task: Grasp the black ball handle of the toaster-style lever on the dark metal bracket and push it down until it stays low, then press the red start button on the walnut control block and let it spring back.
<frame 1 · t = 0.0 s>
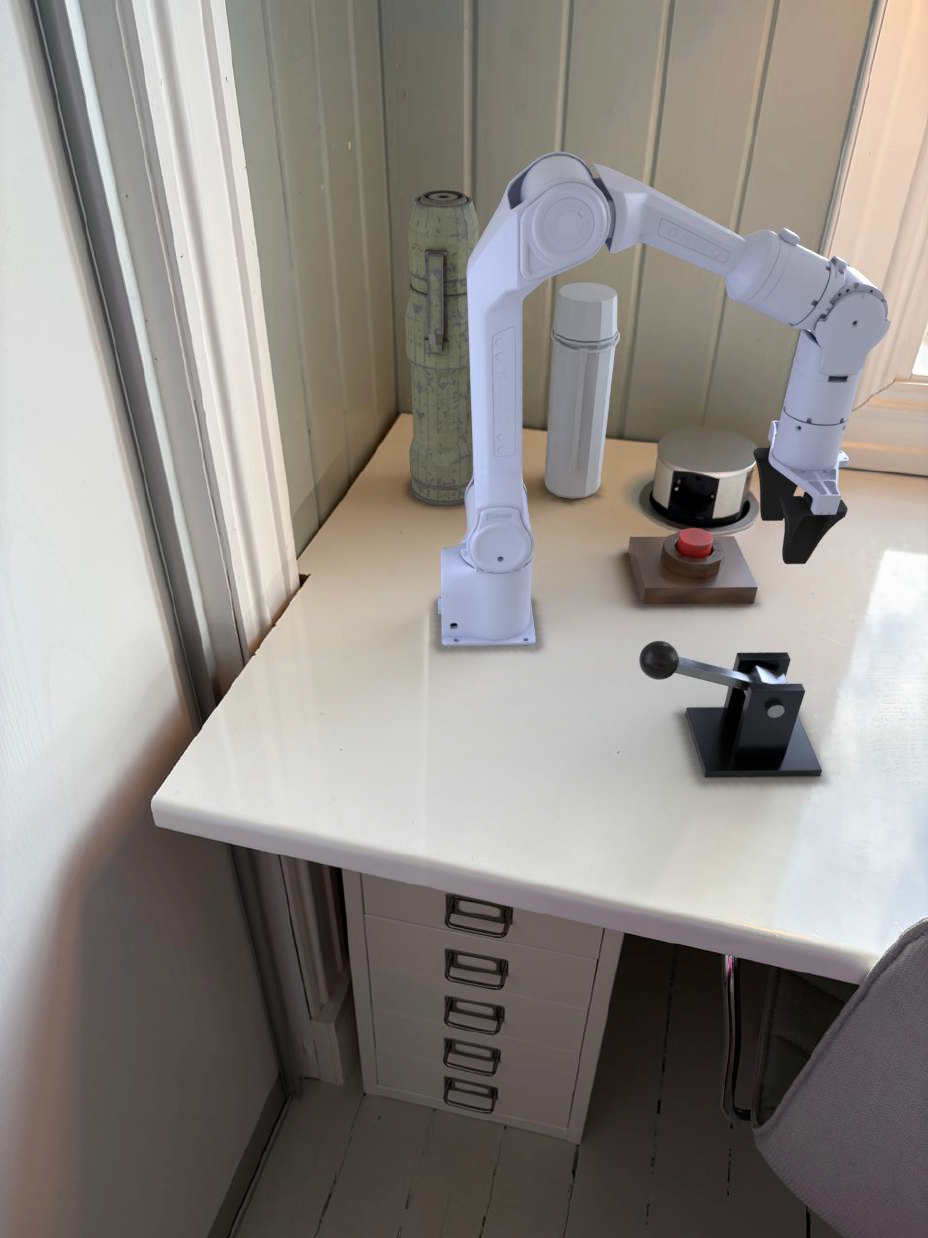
hand: (782, 539, 91), 10 cm above the table, tool pointing down, fingers open, 7 cm apart
lever: (712, 673, 77), point 9 cm above the table, hinge at 18.0°
bracket: (749, 745, 83), on the table
button: (694, 543, 100), point 4 cm above the table, slide at 0.1 cm
water bottle: (571, 492, 118), on the table
thermos: (445, 489, 119), on the table
control block: (688, 577, 103), on the table
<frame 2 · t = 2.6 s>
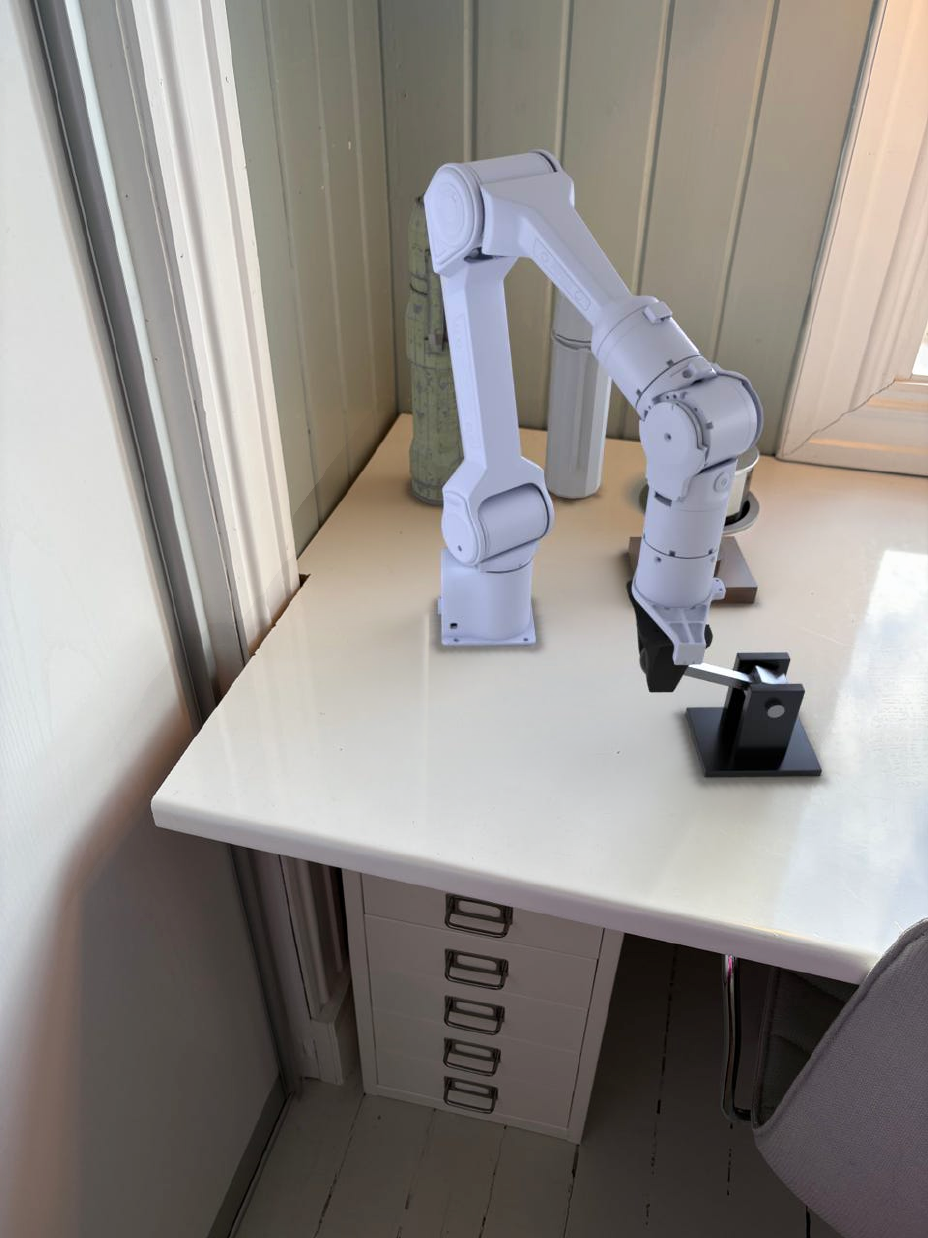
hand: (656, 674, 77), 9 cm above the table, tool pointing down, fingers closed on lever, 3 cm apart
lever: (712, 673, 77), point 9 cm above the table, hinge at 18.0°, touching gripper
everything else where it was.
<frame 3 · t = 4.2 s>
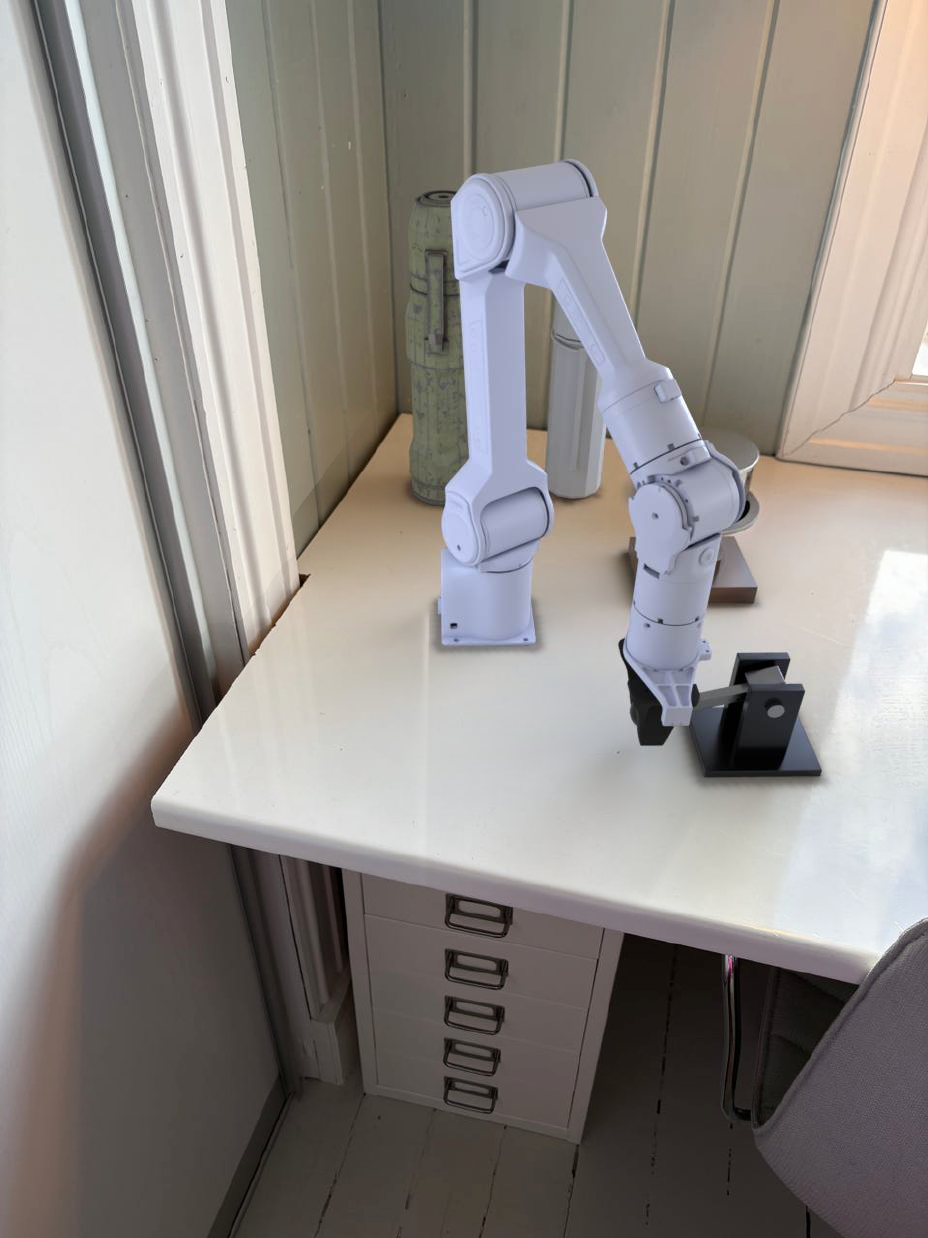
hand: (647, 728, 81), 2 cm above the table, tool pointing down, fingers closed on lever, 3 cm apart
lever: (705, 699, 79), point 6 cm above the table, hinge at -15.9°, touching gripper
everything else where it was.
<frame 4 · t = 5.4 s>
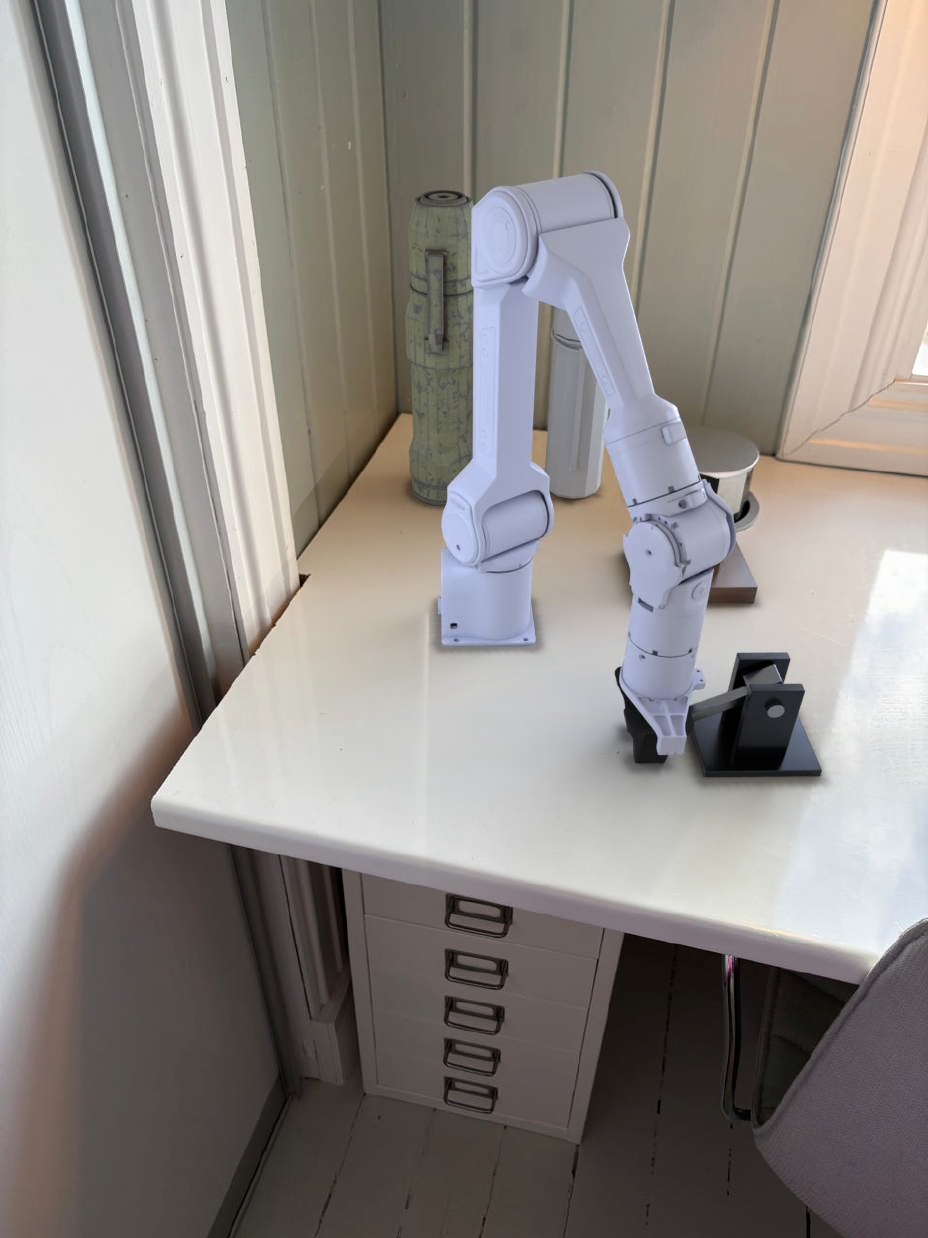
hand: (643, 754, 83), 0 cm above the table, tool pointing down, fingers closed on lever, 3 cm apart
lever: (707, 707, 80), point 5 cm above the table, hinge at -27.1°, touching gripper
everything else where it was.
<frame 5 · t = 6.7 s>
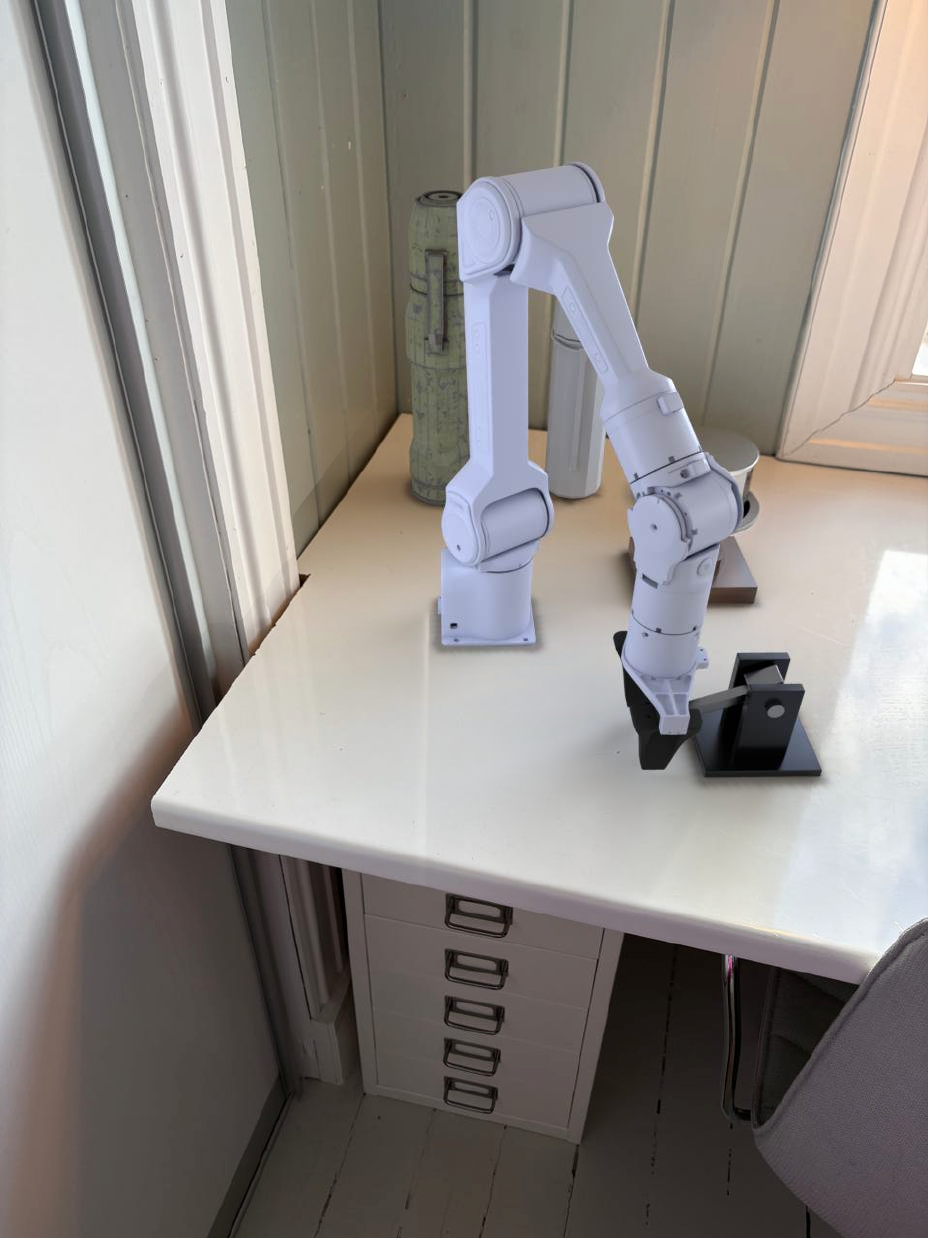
hand: (645, 734, 82), 1 cm above the table, tool pointing down, fingers open, 7 cm apart
lever: (706, 704, 80), point 5 cm above the table, hinge at -22.2°
everything else where it was.
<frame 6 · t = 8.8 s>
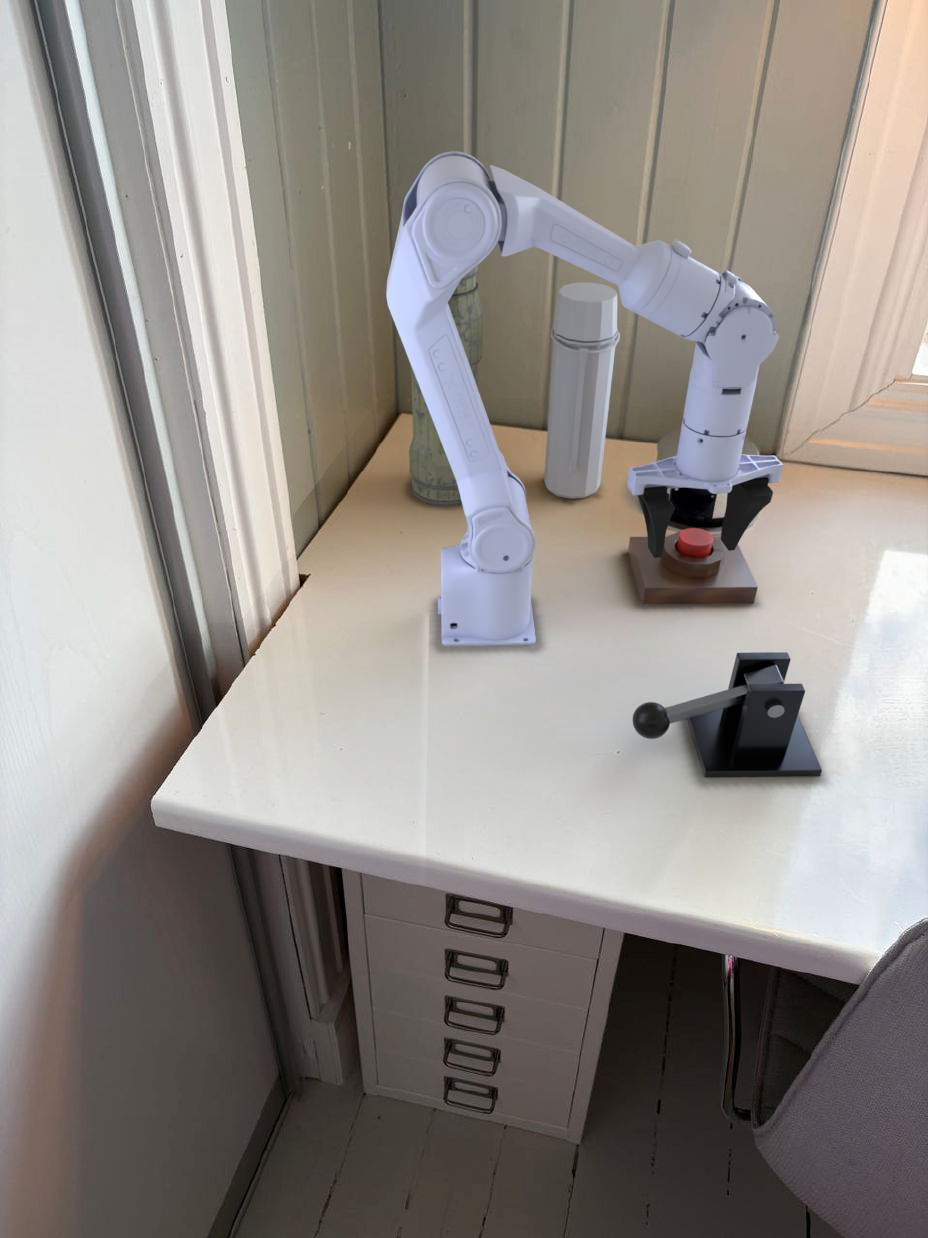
hand: (691, 548, 92), 9 cm above the table, tool pointing down, fingers open, 7 cm apart
nothing on the table moved.
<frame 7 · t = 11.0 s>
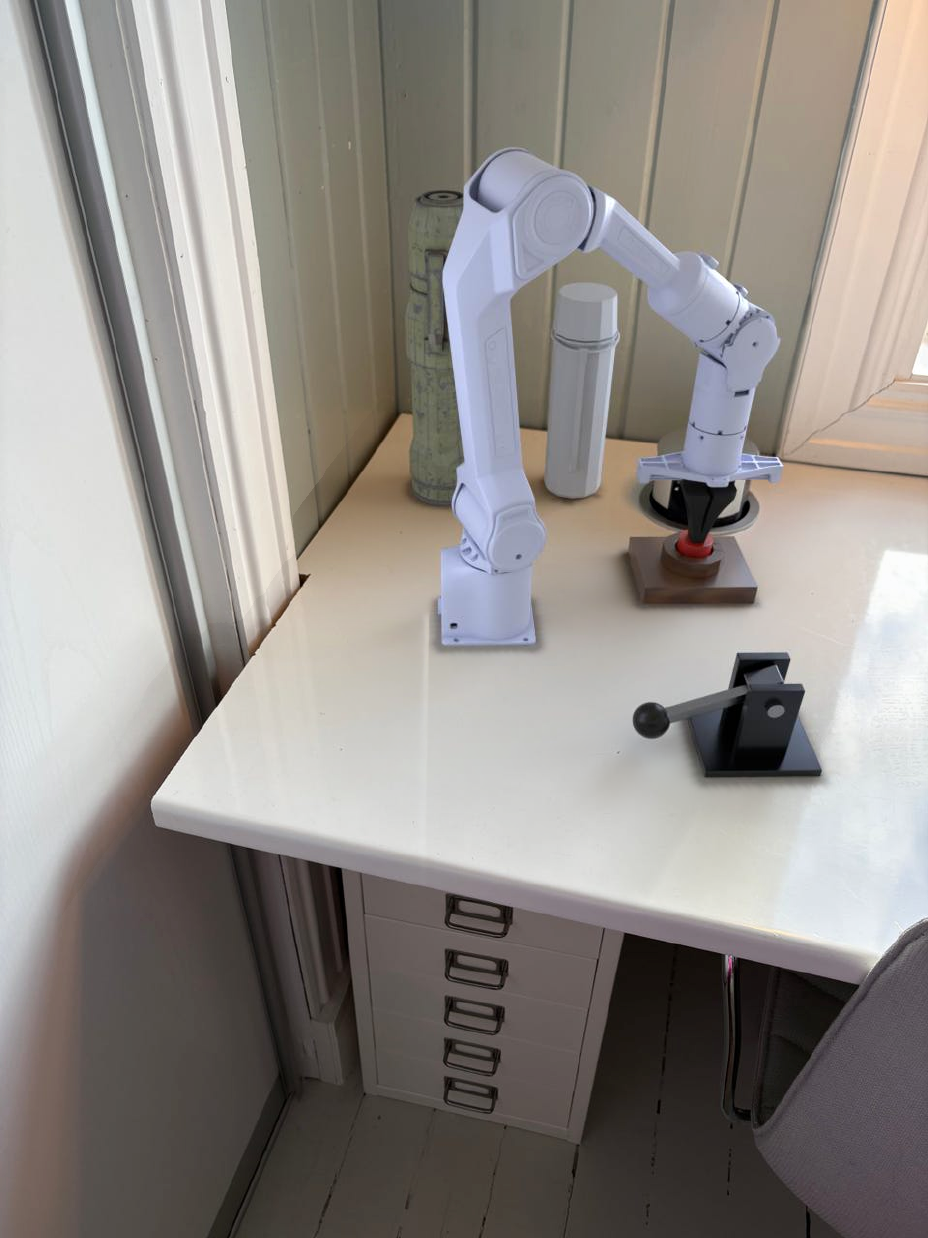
hand: (696, 538, 100), 5 cm above the table, tool pointing down, fingers closed, pressing on button
button: (694, 544, 101), point 4 cm above the table, slide at -0.1 cm, touching gripper
everything else where it was.
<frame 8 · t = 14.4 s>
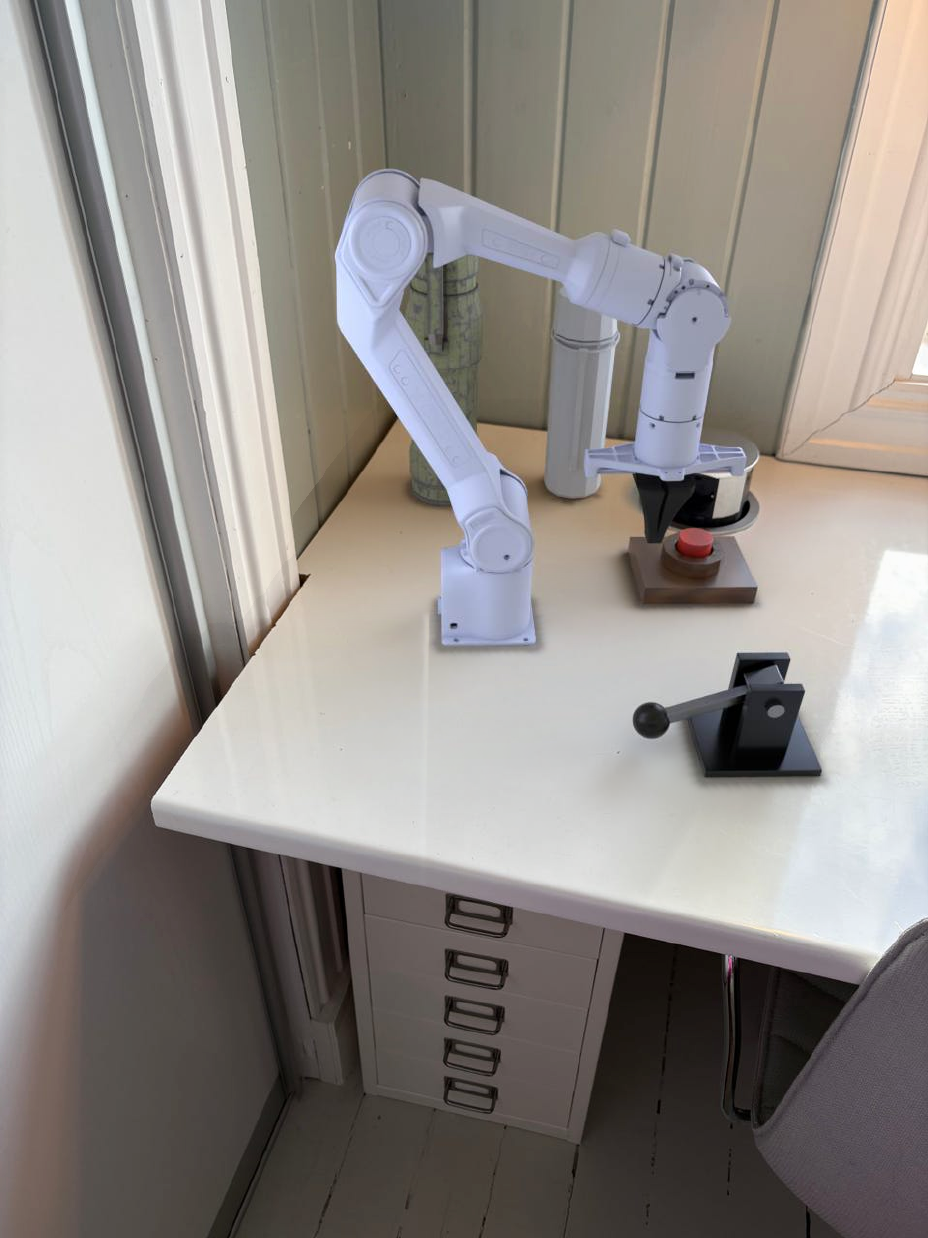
hand: (653, 537, 90), 10 cm above the table, tool pointing down, fingers closed
button: (694, 543, 100), point 4 cm above the table, slide at 0.1 cm
everything else where it was.
at the end: lever at -22° (first picture: +18°); button pushed in 1.2 cm at the most during the clip, back to where it started at the end; button slide at 0.1 cm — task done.
